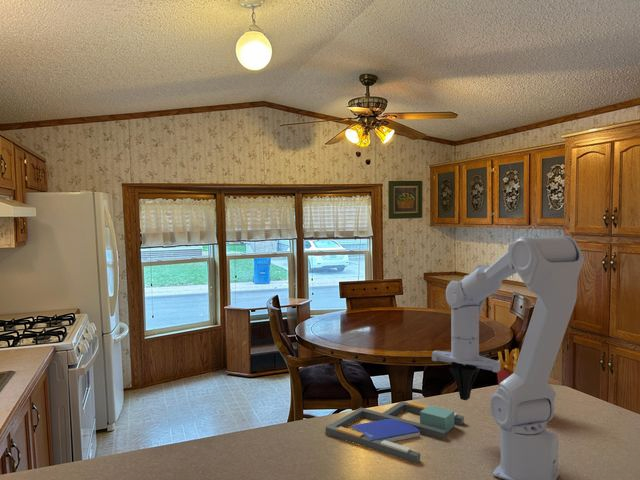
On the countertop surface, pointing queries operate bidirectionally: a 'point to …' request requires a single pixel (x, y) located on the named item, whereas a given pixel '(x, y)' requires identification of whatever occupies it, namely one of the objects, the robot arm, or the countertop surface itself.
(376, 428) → the blue book
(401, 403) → the bar
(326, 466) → the countertop surface
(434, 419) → the teal block
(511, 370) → the french fries
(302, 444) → the countertop surface
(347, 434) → the gray open frame
